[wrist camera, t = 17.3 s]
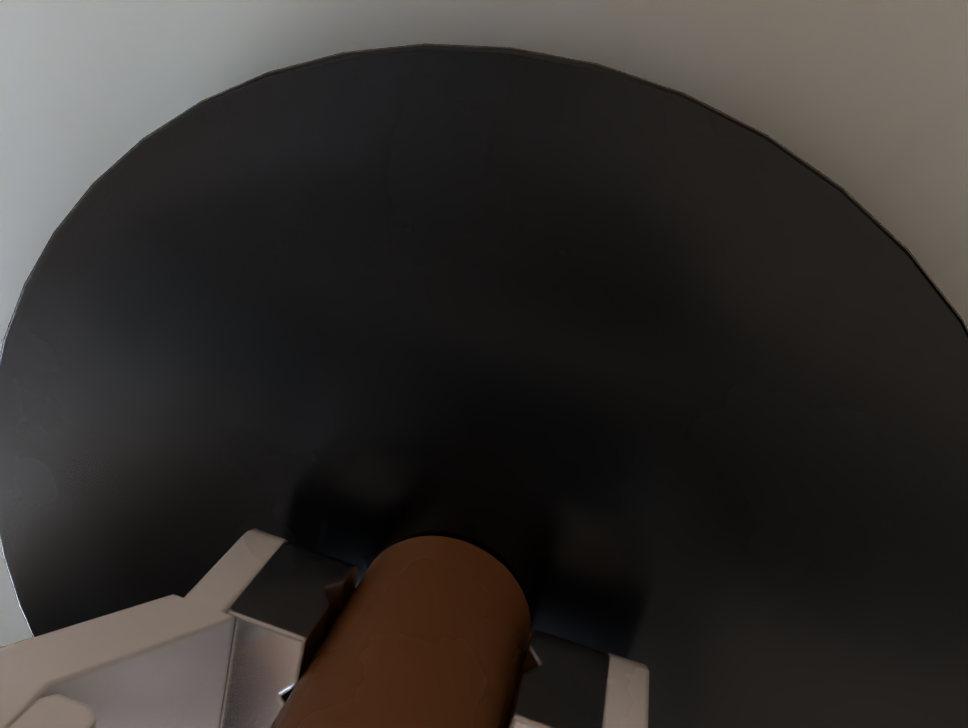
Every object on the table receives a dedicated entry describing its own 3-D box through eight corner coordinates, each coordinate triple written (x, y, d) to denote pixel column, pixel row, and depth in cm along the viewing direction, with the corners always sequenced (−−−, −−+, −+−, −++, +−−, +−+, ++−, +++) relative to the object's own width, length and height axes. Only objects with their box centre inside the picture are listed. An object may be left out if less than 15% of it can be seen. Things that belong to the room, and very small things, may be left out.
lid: (35, 736, 15) (-212, 990, 11) (60, -77, 10) (-403, -201, 6) (761, 1024, 14) (804, 1456, 9) (1259, 237, 8) (1898, 403, 4)
